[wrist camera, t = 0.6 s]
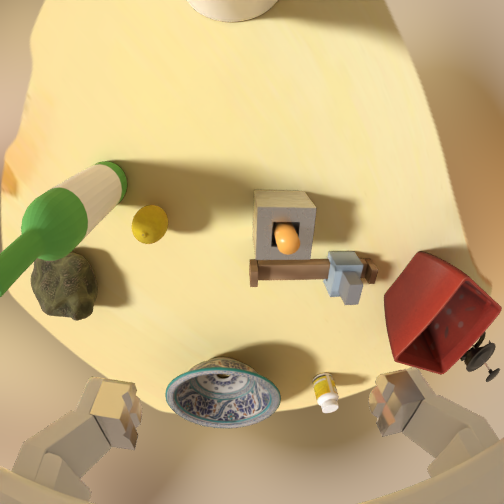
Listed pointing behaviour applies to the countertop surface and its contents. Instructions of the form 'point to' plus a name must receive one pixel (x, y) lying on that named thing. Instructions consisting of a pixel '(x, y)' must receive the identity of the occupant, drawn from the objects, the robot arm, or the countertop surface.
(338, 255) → the carriage
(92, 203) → the wine bottle
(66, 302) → the decorative rock
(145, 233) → the lemon
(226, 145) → the countertop surface
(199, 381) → the bowl
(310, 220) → the grey cube with hole
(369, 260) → the rail
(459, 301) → the plant pot
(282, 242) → the gauge button
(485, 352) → the french press
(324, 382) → the supplement bottle
